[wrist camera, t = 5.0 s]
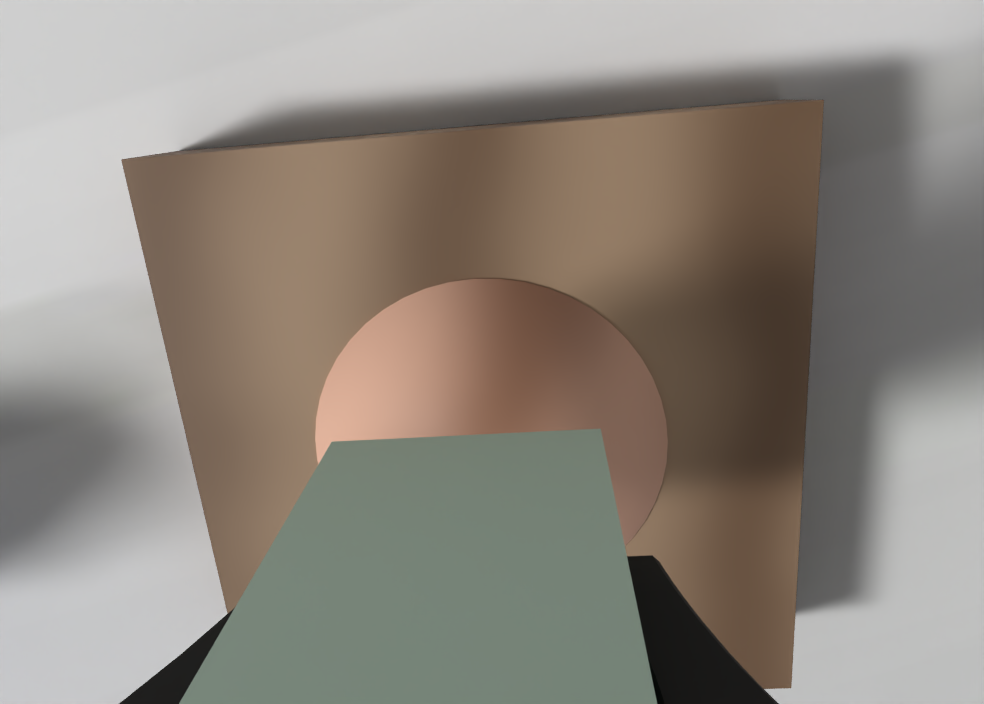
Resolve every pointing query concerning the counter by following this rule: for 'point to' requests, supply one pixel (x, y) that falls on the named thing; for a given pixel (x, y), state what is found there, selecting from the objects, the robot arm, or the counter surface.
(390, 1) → the counter surface
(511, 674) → the sage block
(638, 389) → the walnut base
